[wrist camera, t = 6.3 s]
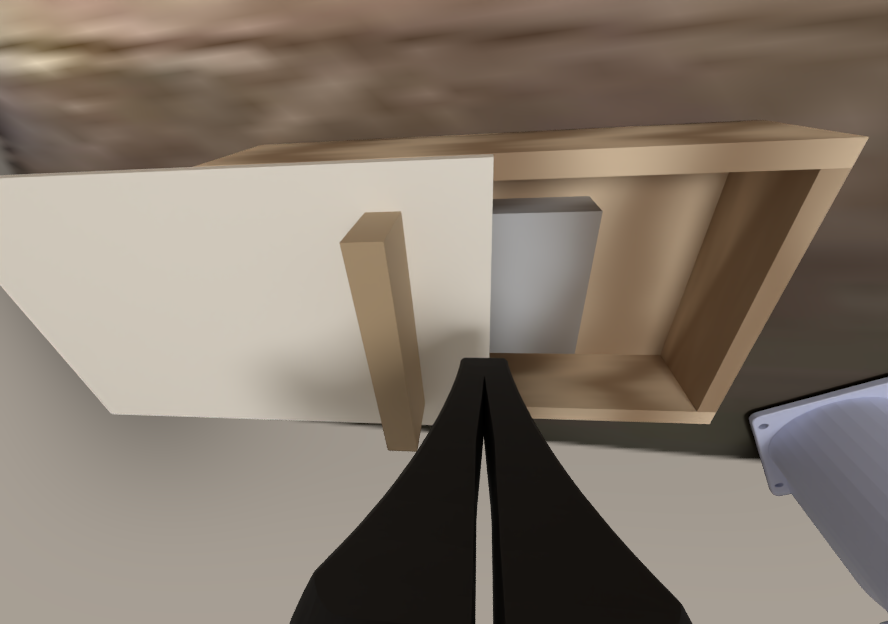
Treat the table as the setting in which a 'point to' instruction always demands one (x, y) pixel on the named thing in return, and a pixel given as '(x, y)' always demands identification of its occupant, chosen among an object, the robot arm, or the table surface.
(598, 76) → the table surface
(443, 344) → the mailer lid
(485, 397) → the robot arm
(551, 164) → the mailer box
